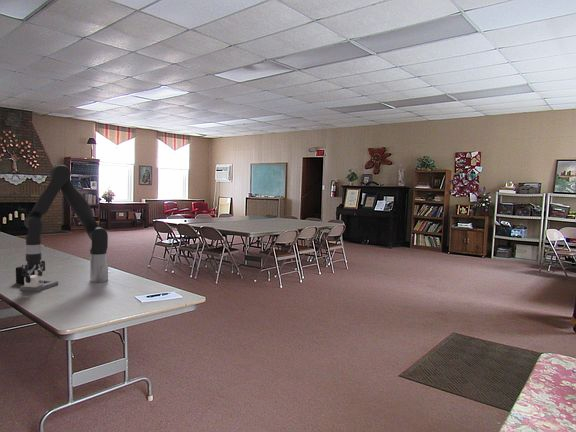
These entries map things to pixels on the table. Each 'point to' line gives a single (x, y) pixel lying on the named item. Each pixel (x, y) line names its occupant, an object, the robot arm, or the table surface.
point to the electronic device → (19, 275)
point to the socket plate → (46, 285)
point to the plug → (34, 281)
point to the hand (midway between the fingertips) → (34, 280)
